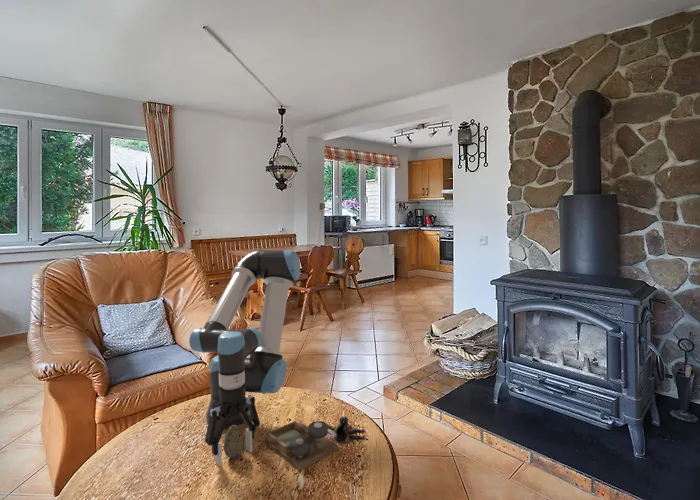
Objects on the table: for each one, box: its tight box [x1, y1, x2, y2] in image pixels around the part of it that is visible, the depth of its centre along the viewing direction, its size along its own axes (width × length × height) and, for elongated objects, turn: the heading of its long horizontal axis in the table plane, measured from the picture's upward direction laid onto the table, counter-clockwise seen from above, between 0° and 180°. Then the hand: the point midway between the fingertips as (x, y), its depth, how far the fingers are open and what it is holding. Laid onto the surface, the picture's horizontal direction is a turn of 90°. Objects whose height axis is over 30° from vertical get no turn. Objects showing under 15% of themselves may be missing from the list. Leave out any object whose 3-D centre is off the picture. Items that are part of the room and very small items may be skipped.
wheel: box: [307, 420, 329, 438], centre depth 122 cm, size 6×6×3 cm
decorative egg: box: [223, 425, 245, 460], centre depth 119 cm, size 6×6×10 cm
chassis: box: [262, 420, 340, 471], centre depth 125 cm, size 20×15×6 cm
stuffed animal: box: [326, 415, 366, 444], centre depth 133 cm, size 12×10×12 cm
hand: (234, 456), depth 120 cm, fingers open, 9 cm apart
